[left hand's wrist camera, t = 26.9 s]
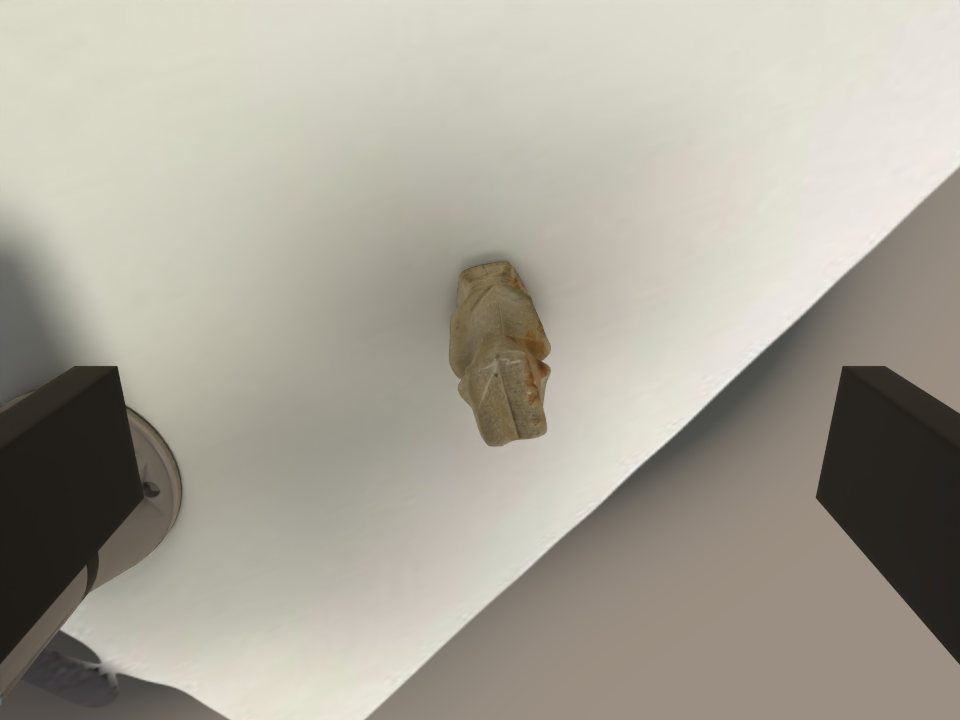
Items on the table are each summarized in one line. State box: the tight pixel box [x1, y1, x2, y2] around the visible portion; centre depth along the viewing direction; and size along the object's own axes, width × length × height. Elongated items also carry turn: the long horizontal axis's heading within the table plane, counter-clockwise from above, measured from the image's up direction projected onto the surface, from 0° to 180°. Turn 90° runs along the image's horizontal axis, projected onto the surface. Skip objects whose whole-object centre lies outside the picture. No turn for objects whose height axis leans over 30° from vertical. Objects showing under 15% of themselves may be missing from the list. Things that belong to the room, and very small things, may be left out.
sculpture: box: [449, 262, 551, 446], centre depth 40 cm, size 6×7×15 cm
